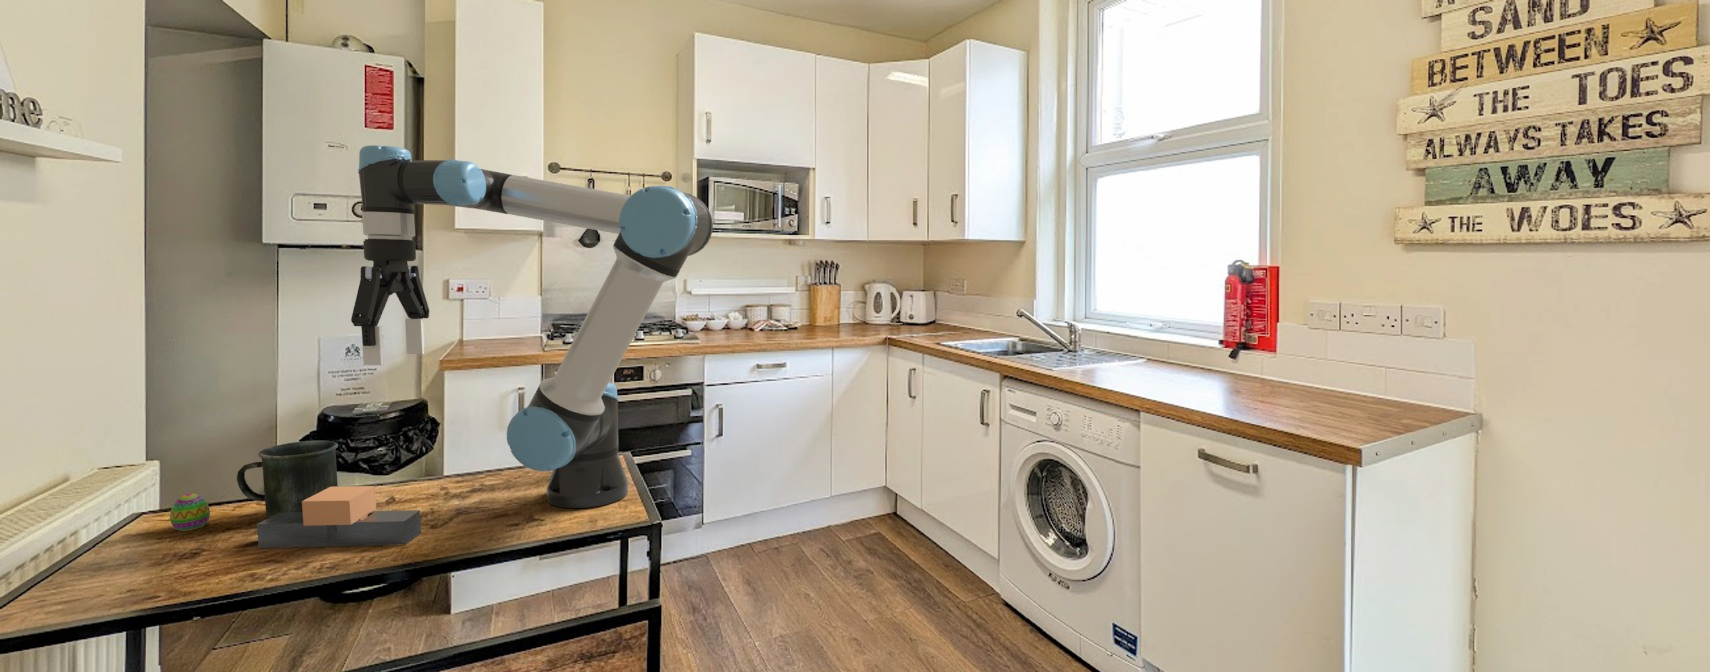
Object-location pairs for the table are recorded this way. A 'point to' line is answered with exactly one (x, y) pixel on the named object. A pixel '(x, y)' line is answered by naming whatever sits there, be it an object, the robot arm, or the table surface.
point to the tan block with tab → (339, 505)
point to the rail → (340, 530)
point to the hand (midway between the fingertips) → (395, 359)
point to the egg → (189, 512)
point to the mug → (292, 474)
